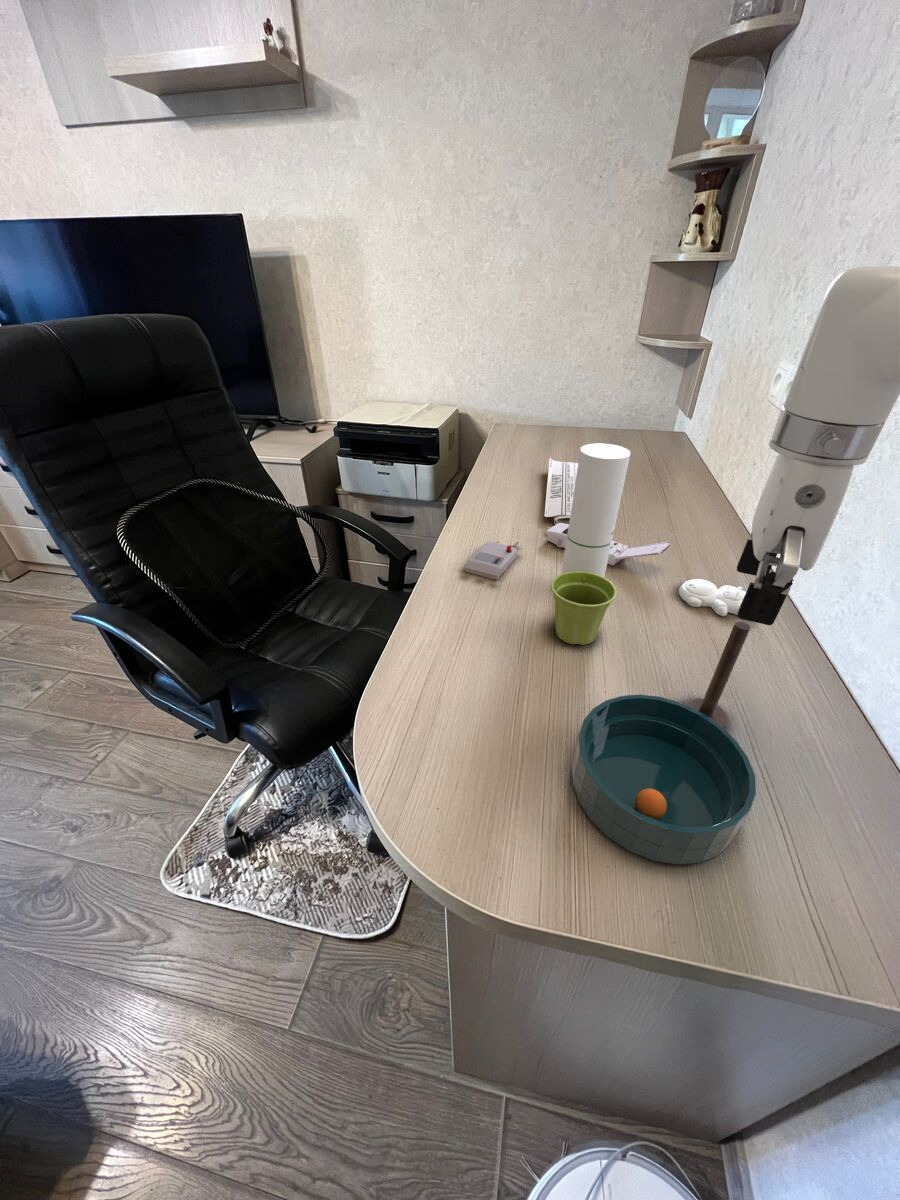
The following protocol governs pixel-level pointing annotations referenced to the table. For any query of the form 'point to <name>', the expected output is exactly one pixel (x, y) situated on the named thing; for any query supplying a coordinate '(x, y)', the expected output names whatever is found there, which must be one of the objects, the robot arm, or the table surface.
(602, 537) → the cylindrical container
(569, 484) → the newspaper
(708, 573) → the table surface
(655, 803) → the ball
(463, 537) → the table surface
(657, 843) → the bowl
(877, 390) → the robot arm
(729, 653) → the stirring stick
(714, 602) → the white toy figurine
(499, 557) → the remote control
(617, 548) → the mobile phone
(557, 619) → the plant pot
